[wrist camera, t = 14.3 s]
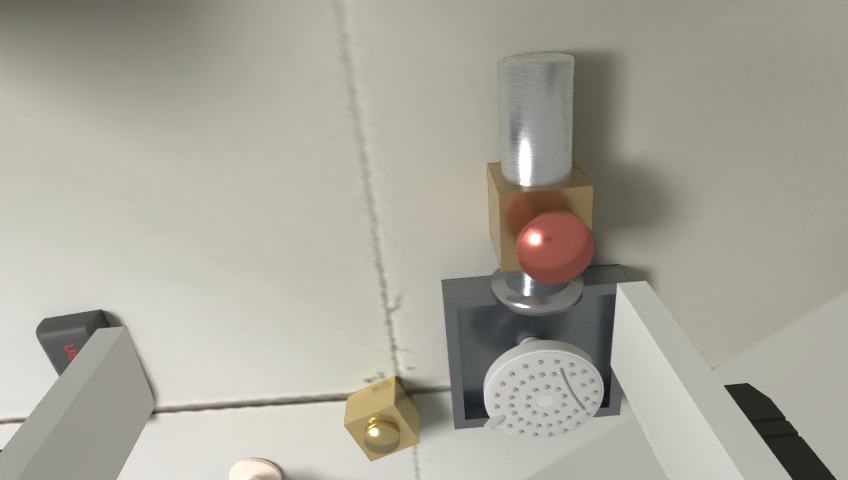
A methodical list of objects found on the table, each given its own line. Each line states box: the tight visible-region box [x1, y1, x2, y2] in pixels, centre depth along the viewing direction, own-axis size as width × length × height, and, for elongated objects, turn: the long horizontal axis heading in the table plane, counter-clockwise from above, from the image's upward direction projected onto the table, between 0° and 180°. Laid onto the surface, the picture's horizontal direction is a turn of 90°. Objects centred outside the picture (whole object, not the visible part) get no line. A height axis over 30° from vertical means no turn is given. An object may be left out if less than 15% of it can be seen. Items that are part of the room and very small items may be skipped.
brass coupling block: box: [344, 376, 420, 461], centre depth 53 cm, size 5×5×5 cm
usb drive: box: [36, 310, 110, 377], centre depth 52 cm, size 5×12×3 cm, turn 10°
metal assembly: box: [441, 53, 630, 429], centre depth 45 cm, size 15×32×10 cm, turn 5°
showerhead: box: [484, 337, 604, 439], centre depth 48 cm, size 9×7×10 cm
